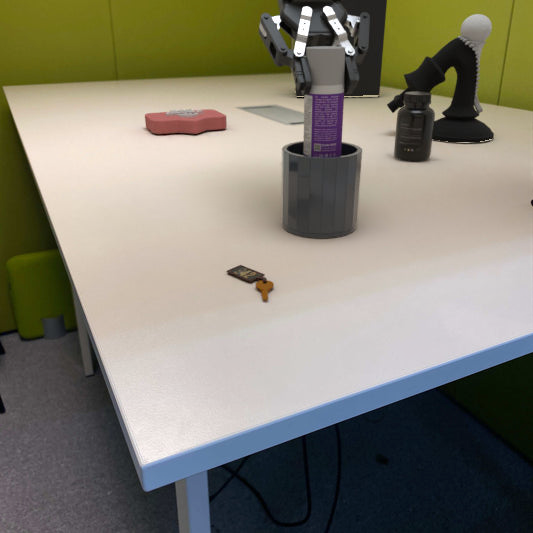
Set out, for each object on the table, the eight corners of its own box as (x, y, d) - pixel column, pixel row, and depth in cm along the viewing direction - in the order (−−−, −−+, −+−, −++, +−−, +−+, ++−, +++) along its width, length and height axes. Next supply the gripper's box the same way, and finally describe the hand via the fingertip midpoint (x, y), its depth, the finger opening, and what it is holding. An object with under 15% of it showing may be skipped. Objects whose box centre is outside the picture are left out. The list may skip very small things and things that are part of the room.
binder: (372, 92, 193) (380, -10, 179) (379, 98, 179) (388, -12, 166) (295, 92, 193) (297, -9, 180) (296, 98, 180) (298, -11, 166)
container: (346, 173, 70) (353, 46, 63) (329, 182, 66) (334, 49, 60) (314, 168, 72) (317, 45, 66) (296, 176, 69) (297, 48, 62)
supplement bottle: (398, 152, 109) (404, 89, 104) (433, 155, 106) (441, 91, 101) (389, 160, 103) (395, 93, 98) (425, 163, 101) (434, 96, 96)
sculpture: (500, 144, 115) (523, 13, 105) (386, 141, 118) (397, 14, 108) (484, 130, 129) (503, 13, 119) (382, 128, 132) (392, 14, 122)
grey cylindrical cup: (317, 207, 78) (319, 137, 74) (372, 225, 71) (378, 148, 67) (266, 223, 72) (265, 148, 68) (321, 244, 65) (324, 162, 61)
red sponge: (155, 120, 120) (142, 111, 133) (157, 138, 122) (144, 127, 135) (232, 115, 127) (213, 106, 139) (233, 132, 128) (213, 122, 141)
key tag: (224, 270, 59) (223, 265, 58) (247, 264, 60) (247, 259, 60) (264, 301, 52) (264, 295, 52) (290, 293, 54) (290, 287, 54)
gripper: (250, -50, 64) (274, 69, 58) (366, -49, 66) (399, 65, 61) (244, 1, 71) (264, 112, 65) (349, 1, 73) (377, 107, 68)
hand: (329, 89), depth 63 cm, fingers closed on container, 4 cm apart
